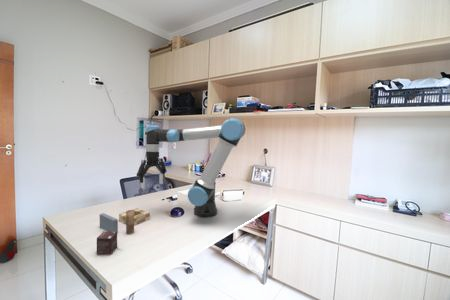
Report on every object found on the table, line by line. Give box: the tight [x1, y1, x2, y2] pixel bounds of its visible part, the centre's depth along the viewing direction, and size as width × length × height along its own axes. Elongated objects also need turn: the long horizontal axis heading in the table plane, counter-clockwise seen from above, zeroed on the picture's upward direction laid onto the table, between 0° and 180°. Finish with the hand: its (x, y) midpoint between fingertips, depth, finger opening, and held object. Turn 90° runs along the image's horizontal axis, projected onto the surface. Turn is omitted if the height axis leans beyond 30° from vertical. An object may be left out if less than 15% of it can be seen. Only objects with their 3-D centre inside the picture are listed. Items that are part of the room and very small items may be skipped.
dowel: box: [125, 209, 135, 235], centre depth 104 cm, size 4×4×12 cm
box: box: [96, 230, 118, 256], centre depth 89 cm, size 6×6×7 cm
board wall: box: [99, 213, 119, 234], centre depth 115 cm, size 15×28×8 cm, turn 148°
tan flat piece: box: [118, 208, 151, 226], centre depth 118 cm, size 12×12×4 cm
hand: (152, 185), depth 127 cm, fingers open, 13 cm apart
